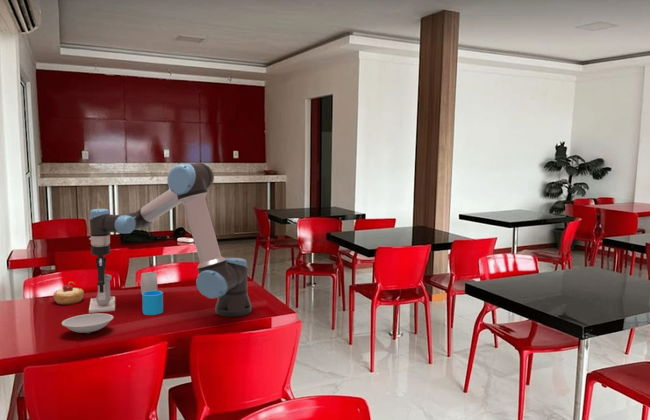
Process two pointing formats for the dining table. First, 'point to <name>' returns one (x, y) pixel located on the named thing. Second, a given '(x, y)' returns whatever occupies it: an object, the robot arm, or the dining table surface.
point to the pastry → (68, 295)
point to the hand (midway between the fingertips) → (102, 296)
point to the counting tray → (101, 306)
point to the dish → (87, 322)
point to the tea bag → (148, 282)
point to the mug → (152, 302)
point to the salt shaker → (107, 291)
